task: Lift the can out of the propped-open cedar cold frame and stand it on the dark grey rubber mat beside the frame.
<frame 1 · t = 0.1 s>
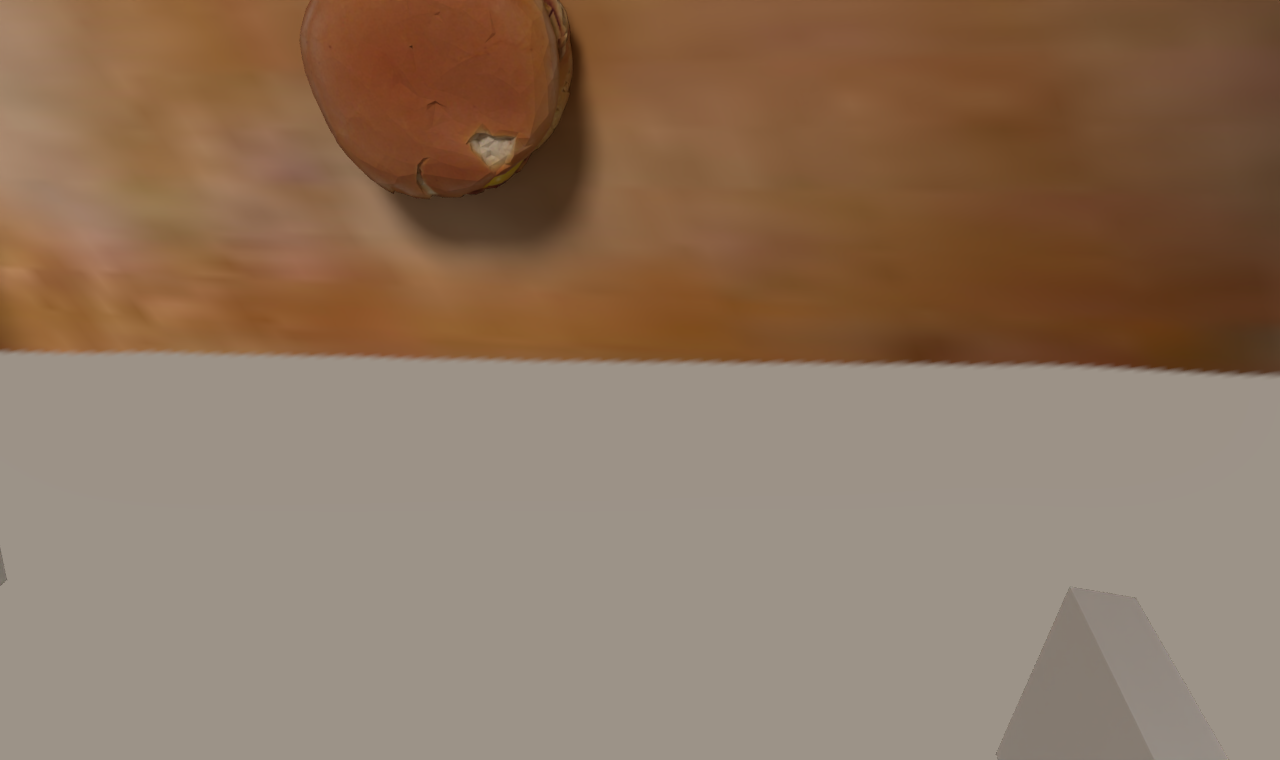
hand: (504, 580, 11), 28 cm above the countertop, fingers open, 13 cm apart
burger: (459, 54, 36), on the countertop
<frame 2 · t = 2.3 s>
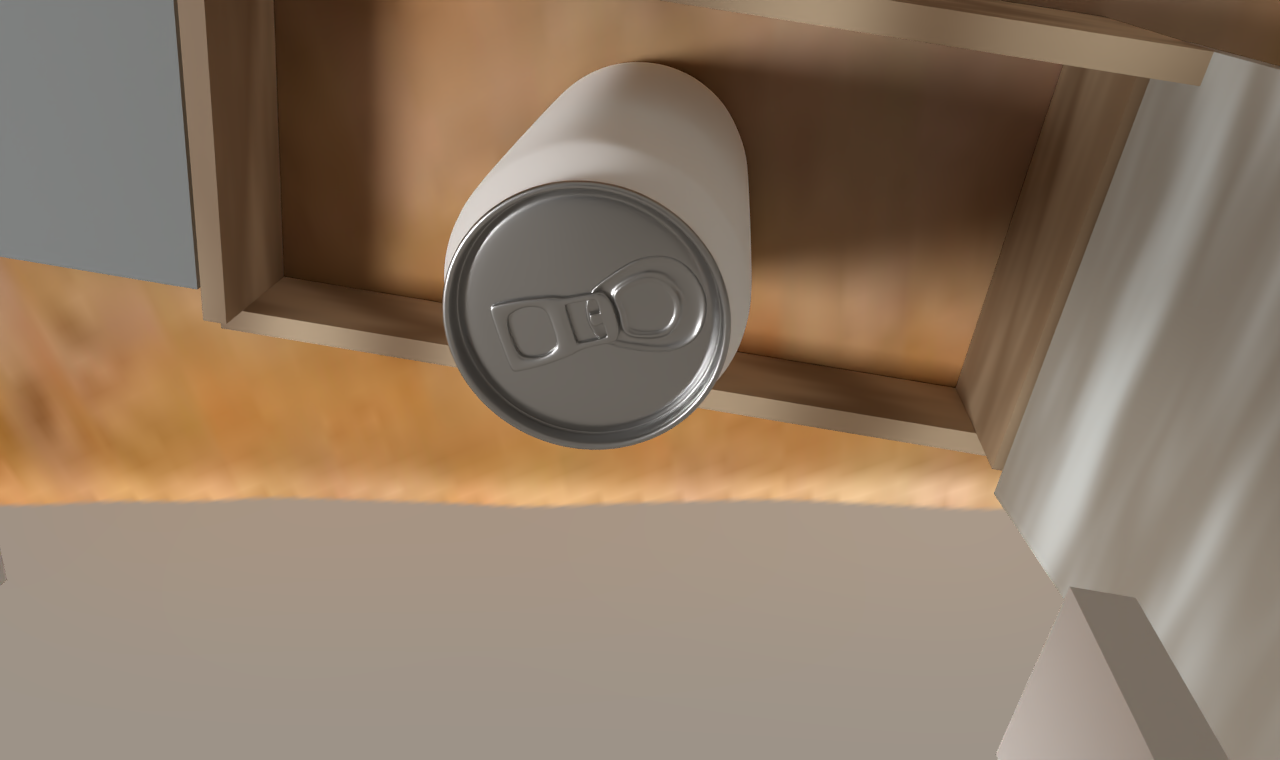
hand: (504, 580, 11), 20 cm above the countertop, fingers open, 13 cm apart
can: (641, 167, 29), resting in cold frame
mat: (2, 72, 29), on the countertop
cold frame: (640, 169, 29), on the countertop
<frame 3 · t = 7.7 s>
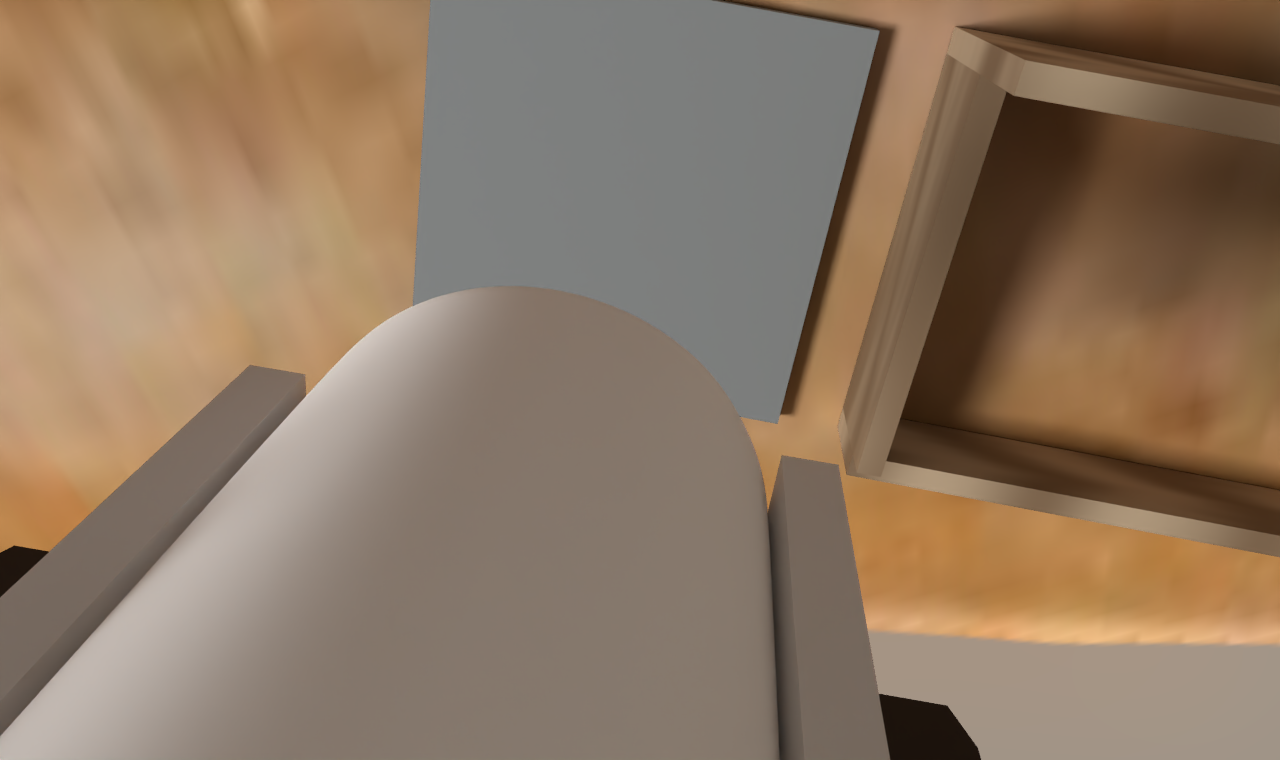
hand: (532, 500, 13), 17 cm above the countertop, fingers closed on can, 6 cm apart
can: (540, 478, 14), point 16 cm above the countertop, touching gripper
mat: (623, 203, 28), on the countertop
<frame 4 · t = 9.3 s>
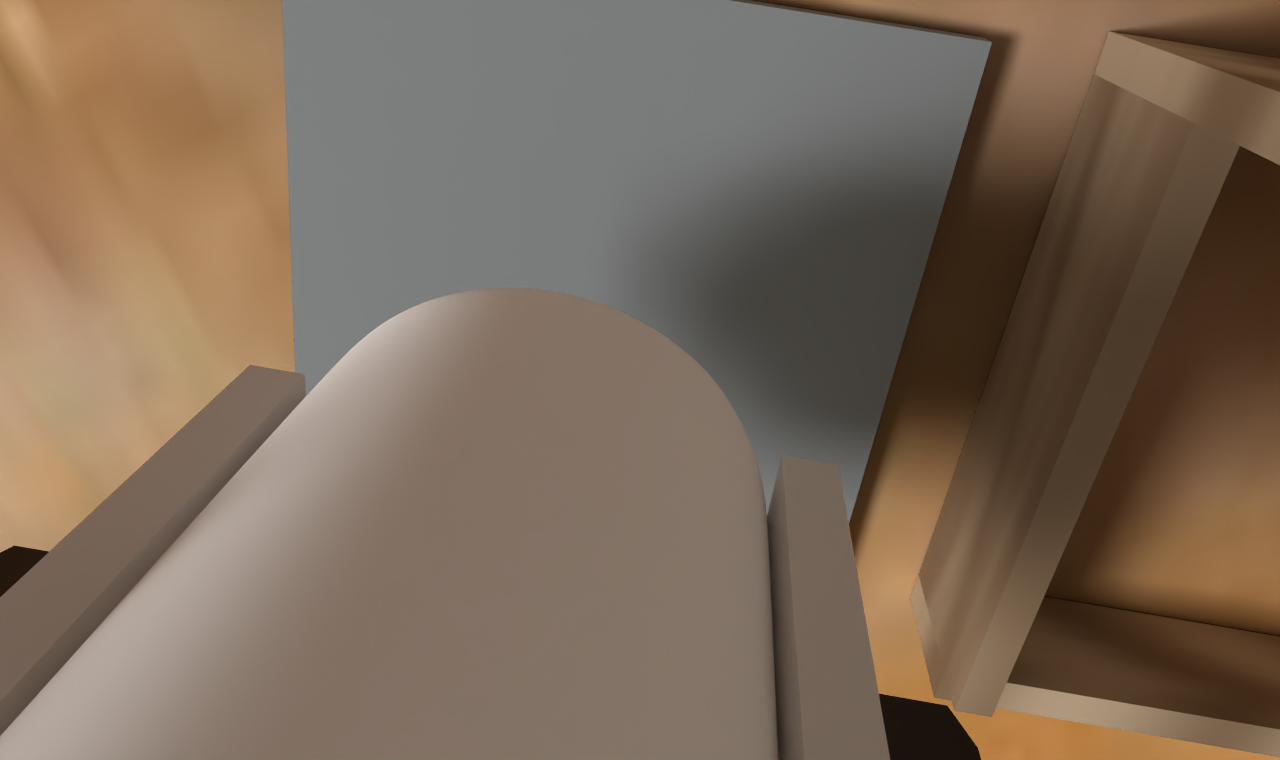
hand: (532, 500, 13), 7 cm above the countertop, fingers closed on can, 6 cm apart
can: (539, 479, 14), point 6 cm above the countertop, touching gripper
mat: (596, 301, 19), on the countertop
when the fingers open (3 cm above the countertop, at t = 10.7 s): can drops 2 cm, resting on mat.
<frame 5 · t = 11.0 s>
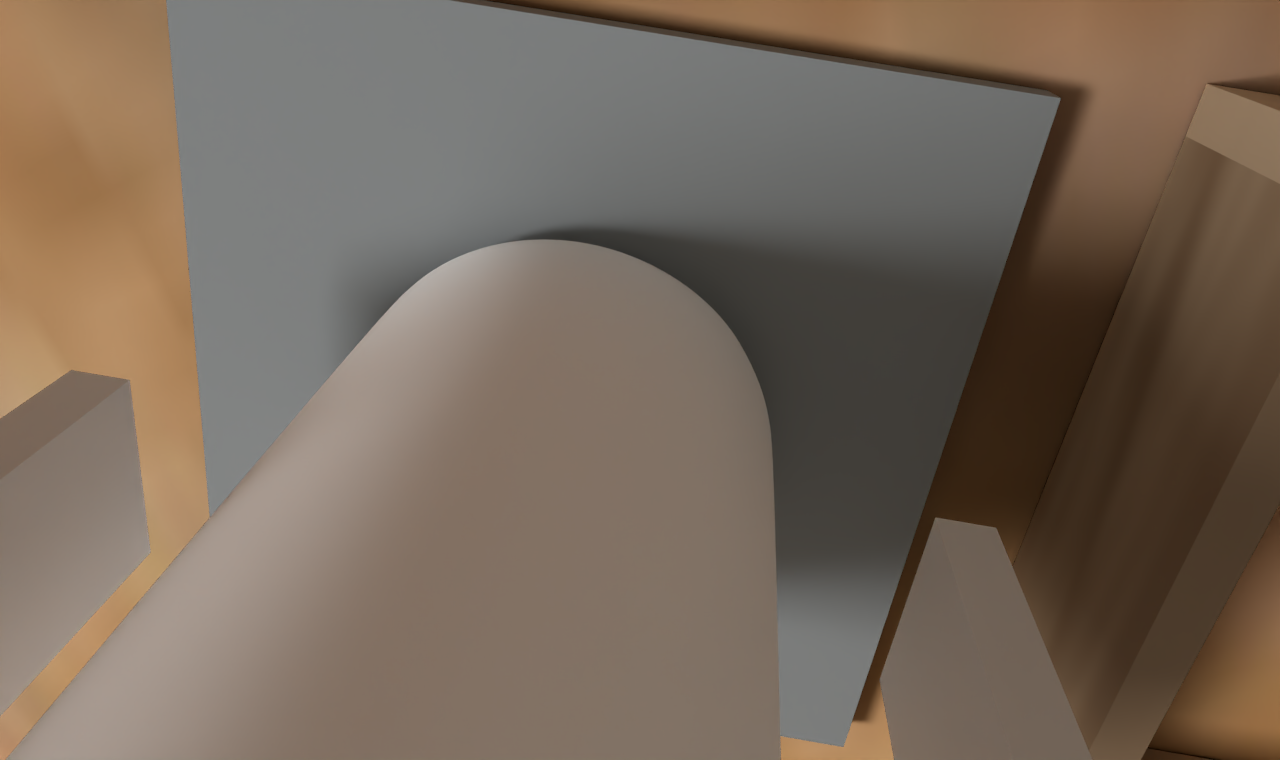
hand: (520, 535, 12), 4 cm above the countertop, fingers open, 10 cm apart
can: (568, 415, 15), point 1 cm above the countertop, touching mat
mat: (567, 401, 16), on the countertop
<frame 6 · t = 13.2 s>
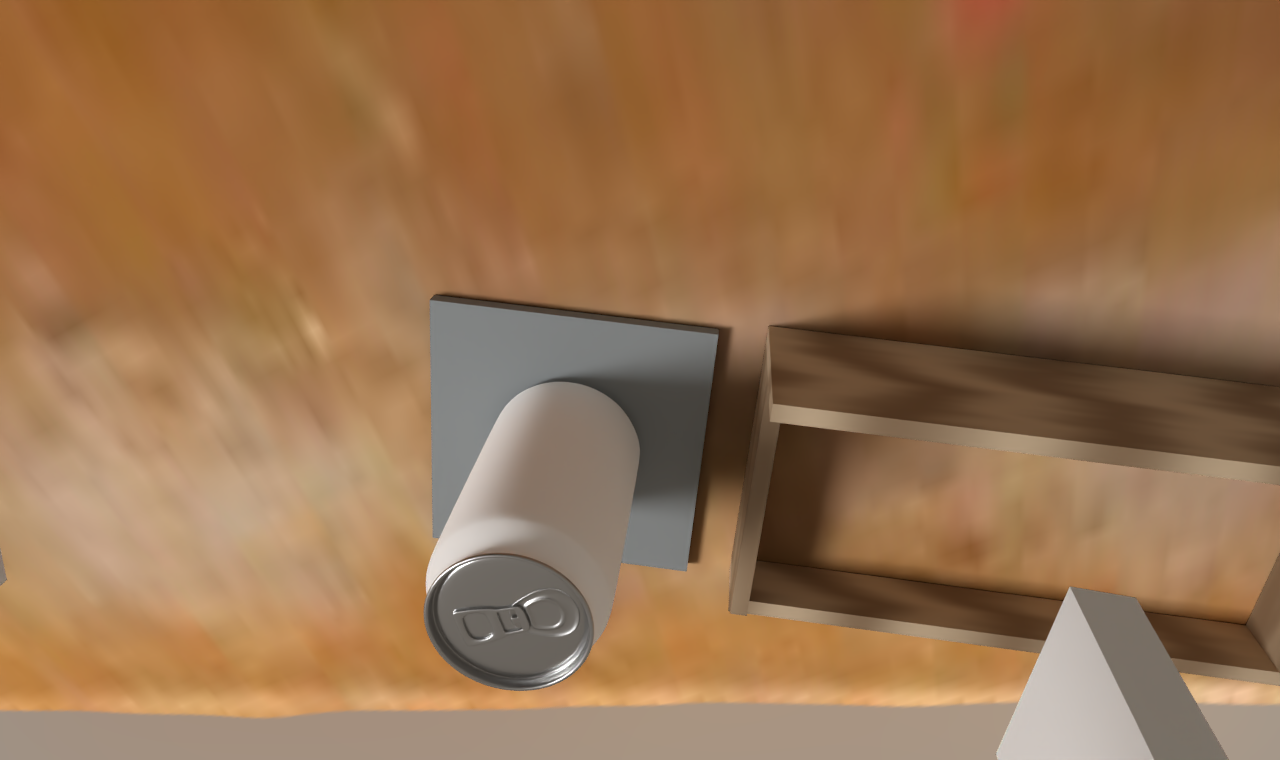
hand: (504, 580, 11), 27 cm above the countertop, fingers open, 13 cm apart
can: (568, 441, 41), resting on mat
mat: (567, 436, 42), on the countertop
cold frame: (1024, 490, 41), on the countertop
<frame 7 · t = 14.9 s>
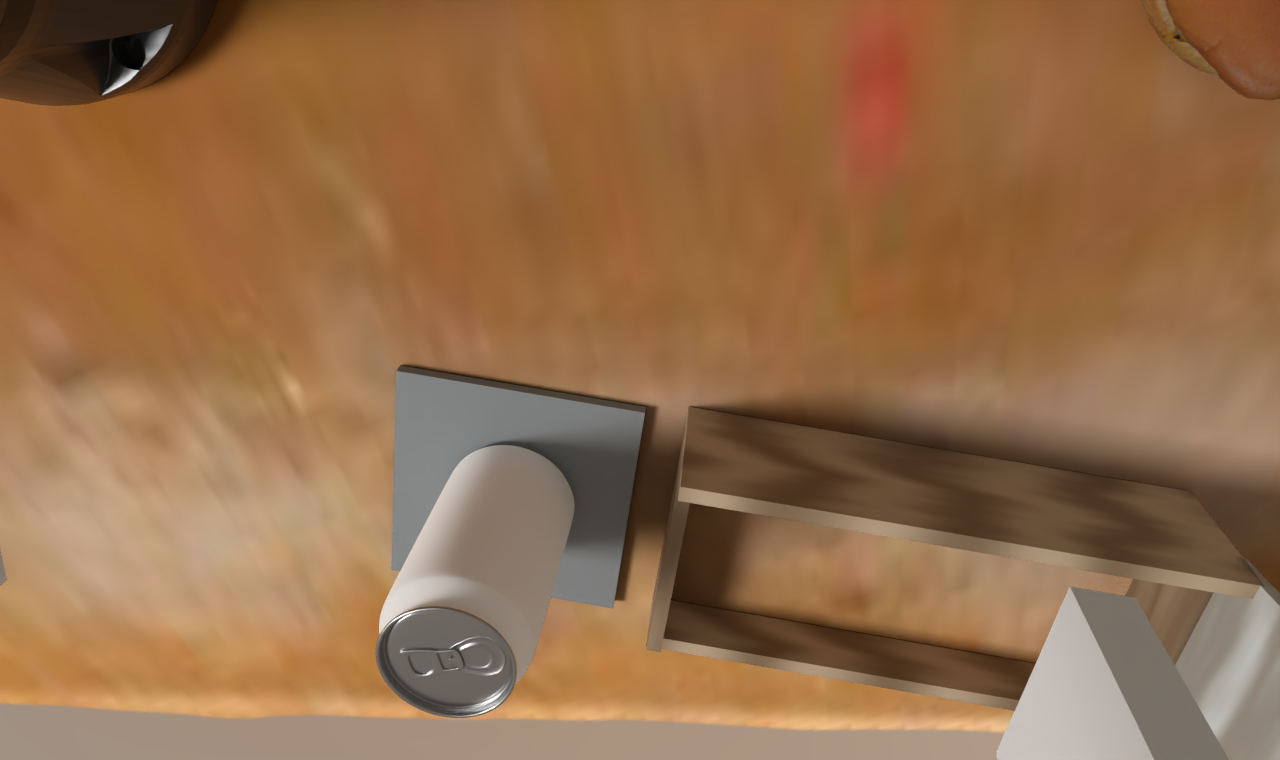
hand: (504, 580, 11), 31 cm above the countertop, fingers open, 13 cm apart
can: (513, 493, 48), resting on mat
mat: (513, 489, 48), on the countertop
cold frame: (904, 553, 47), on the countertop
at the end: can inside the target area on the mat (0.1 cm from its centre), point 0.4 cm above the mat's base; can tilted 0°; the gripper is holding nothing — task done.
